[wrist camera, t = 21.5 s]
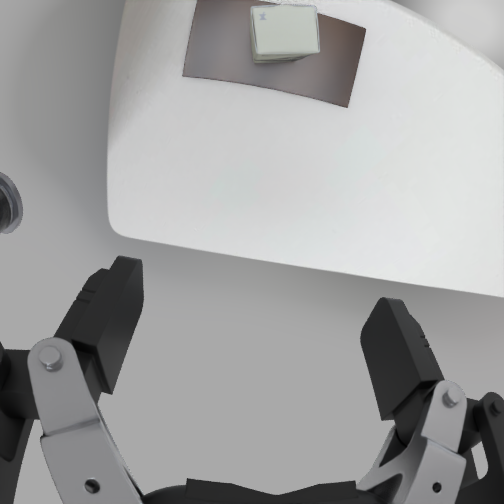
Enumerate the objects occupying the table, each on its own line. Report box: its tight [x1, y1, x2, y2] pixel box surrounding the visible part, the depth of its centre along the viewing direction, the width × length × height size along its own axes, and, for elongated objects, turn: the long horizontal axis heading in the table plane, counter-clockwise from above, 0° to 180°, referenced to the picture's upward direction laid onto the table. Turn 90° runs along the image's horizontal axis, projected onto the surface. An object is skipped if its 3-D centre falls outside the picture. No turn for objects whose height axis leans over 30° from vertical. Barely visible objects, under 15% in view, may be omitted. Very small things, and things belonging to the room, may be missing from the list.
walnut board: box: [183, 0, 366, 108], centre depth 29 cm, size 20×11×1 cm, turn 79°
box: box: [250, 4, 320, 63], centre depth 23 cm, size 5×4×13 cm
